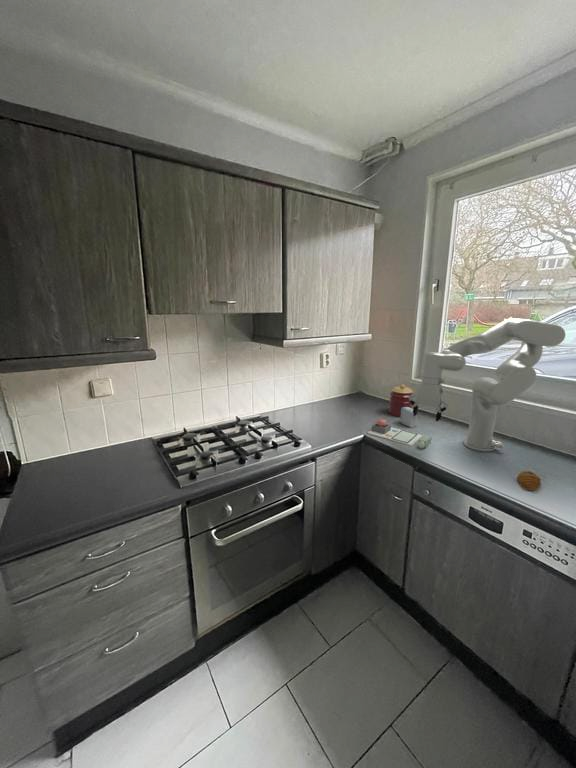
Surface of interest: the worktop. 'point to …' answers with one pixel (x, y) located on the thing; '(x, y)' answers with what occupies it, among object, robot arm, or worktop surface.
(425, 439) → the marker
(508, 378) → the robot arm
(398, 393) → the canister
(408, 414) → the medicine box
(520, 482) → the pastry
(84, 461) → the worktop surface
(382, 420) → the button
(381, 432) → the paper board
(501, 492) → the worktop surface
